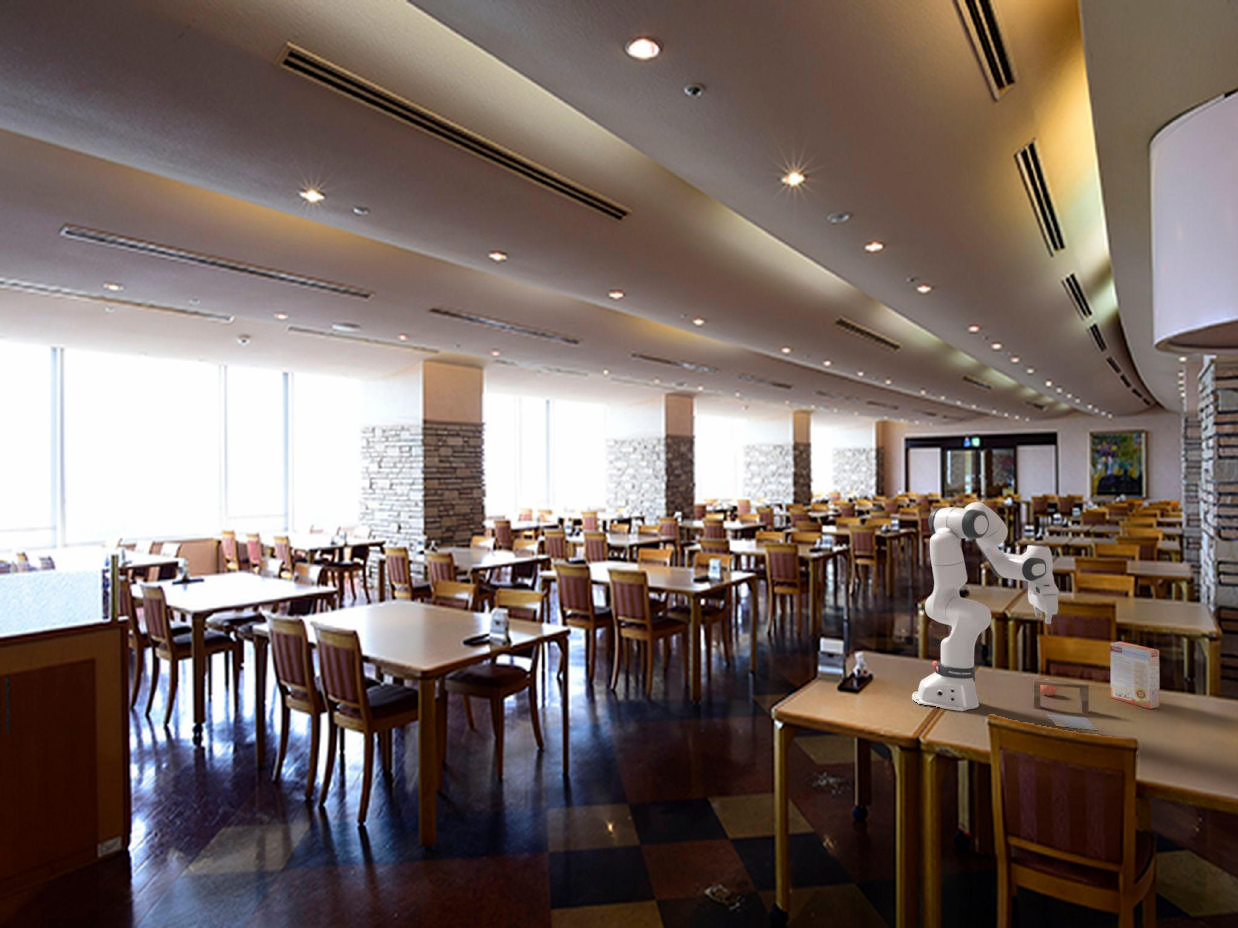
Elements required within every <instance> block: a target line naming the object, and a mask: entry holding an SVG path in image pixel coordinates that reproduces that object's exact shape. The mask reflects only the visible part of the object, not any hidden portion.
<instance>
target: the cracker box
mask: <svg viewBox="0 0 1238 928" xmlns="http://www.w3.org/2000/svg"><path fill="white" fill-rule="evenodd" d="M1110 698H1111V699H1114V700H1116V701H1117V700H1118V701H1121V702H1124V703H1128V704H1130V705H1135V706H1139V707H1142V708H1145V709H1147V708H1148V709H1147V710H1151V709H1156V708H1157V709H1158V708H1160V650H1159V649H1156V648H1152V647H1151V648H1150V647H1147V646H1142V645H1137V644H1132V643H1129V642H1124V641H1116V642H1110Z"/></svg>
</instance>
